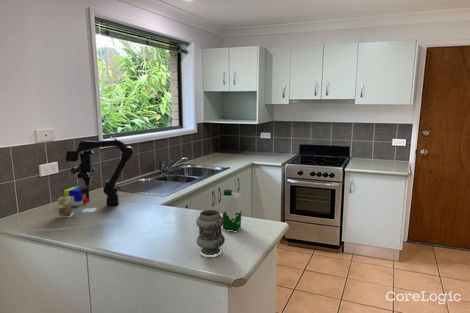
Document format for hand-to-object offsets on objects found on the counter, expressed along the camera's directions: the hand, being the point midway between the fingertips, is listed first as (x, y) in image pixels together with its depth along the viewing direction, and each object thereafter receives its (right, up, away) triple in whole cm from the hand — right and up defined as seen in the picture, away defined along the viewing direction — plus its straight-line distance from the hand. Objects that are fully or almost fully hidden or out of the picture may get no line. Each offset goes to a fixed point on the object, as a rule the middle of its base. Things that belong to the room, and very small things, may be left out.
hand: (87, 186), depth 204 cm
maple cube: (-6, -10, -15) cm, 19 cm away
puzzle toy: (-10, -12, +9) cm, 18 cm away
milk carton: (+88, -19, -34) cm, 96 cm away
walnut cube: (-6, -15, -14) cm, 21 cm away
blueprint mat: (-2, -15, -10) cm, 18 cm away
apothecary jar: (+79, -23, -60) cm, 102 cm away
